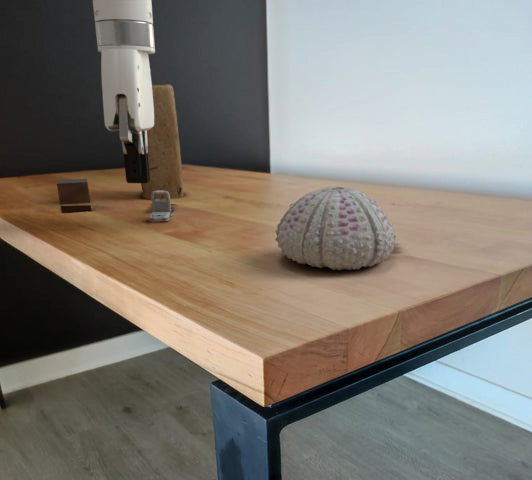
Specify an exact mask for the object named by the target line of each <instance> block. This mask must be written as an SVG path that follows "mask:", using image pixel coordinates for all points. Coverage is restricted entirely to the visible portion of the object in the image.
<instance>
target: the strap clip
mask: <svg viewBox="0 0 532 480" xmlns="http://www.w3.org/2000/svg"><path fill="white" fill-rule="evenodd" d="M154 194H167V197H168V199H154ZM150 200H151V206H152V211H153V212H152V213H150V214H149V217H148V219H149V222H154V223H155V222H157V223H158V222H169V221H170V219H171V217H172V216H174V215H175V209H172V205H171V204H172V203H171V201H172V200H171V198H170V195H169V192H168V191H165V190H160V191H153V192H152V195H151V199H150ZM170 216H171V217H170Z"/></svg>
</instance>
